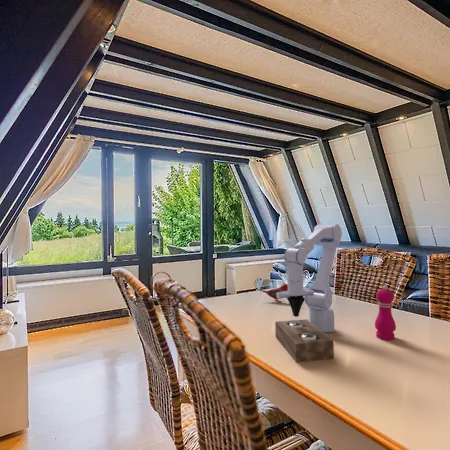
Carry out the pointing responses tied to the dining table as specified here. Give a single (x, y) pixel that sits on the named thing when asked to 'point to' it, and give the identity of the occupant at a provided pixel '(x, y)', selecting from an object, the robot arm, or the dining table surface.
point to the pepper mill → (385, 315)
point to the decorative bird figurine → (273, 292)
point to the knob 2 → (308, 336)
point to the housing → (301, 348)
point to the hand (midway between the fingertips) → (295, 315)
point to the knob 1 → (295, 324)
